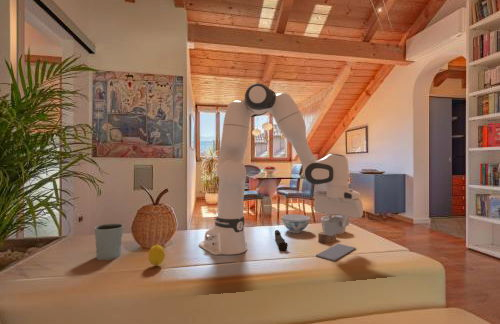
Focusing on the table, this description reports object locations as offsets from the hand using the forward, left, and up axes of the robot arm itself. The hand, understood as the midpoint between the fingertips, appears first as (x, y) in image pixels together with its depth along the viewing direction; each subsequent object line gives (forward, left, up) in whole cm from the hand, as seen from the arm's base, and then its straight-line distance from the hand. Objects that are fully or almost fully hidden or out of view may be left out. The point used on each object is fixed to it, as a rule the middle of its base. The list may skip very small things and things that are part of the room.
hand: (337, 225), depth 115 cm
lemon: (-41, -59, -12) cm, 73 cm away
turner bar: (0, 0, -2) cm, 2 cm away
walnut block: (-11, +8, -9) cm, 17 cm away
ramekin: (-16, +30, -12) cm, 36 cm away
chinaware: (-31, +16, -12) cm, 37 cm away
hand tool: (-25, -8, -12) cm, 28 cm away
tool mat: (0, 0, -11) cm, 11 cm away
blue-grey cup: (-64, -67, -12) cm, 94 cm away
